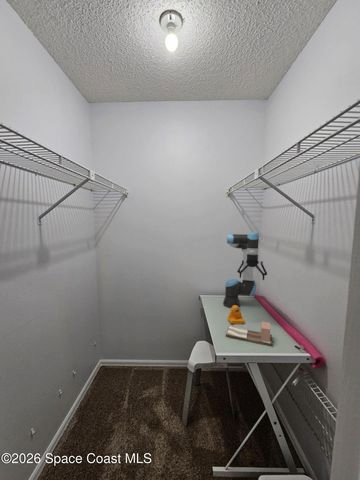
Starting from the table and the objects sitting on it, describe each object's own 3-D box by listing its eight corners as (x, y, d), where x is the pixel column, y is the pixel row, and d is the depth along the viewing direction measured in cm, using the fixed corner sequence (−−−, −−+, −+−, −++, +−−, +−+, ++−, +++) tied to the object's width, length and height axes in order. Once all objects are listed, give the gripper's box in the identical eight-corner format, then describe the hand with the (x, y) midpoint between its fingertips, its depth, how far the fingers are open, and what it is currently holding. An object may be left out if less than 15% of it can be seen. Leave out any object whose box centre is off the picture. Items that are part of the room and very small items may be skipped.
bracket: (230, 324, 151) (231, 309, 150) (227, 320, 158) (228, 305, 157) (245, 324, 151) (245, 308, 151) (241, 319, 159) (241, 304, 158)
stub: (261, 333, 136) (261, 321, 135) (269, 334, 134) (269, 323, 133) (261, 340, 127) (261, 327, 127) (269, 342, 125) (270, 329, 125)
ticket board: (228, 328, 145) (228, 325, 145) (271, 336, 135) (271, 333, 135) (225, 337, 134) (225, 334, 134) (272, 346, 124) (272, 343, 123)
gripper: (233, 253, 146) (233, 282, 148) (271, 255, 137) (270, 286, 139) (235, 252, 153) (234, 280, 155) (271, 254, 144) (270, 283, 146)
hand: (251, 283), depth 147 cm, fingers open, 13 cm apart
